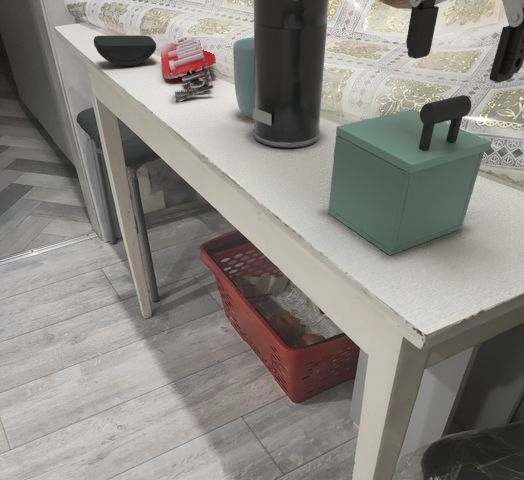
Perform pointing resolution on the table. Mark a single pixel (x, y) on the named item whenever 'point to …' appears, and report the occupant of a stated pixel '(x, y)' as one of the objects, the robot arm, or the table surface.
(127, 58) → the computer mouse
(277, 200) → the table surface
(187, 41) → the logo
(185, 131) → the table surface
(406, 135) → the green square slab
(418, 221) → the green storage box
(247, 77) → the cup
